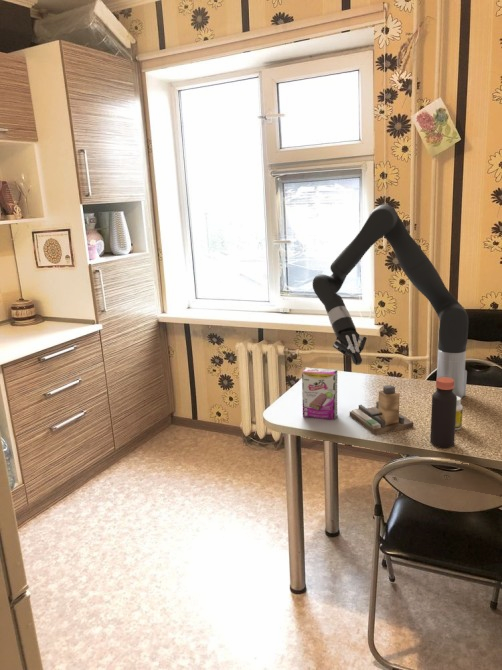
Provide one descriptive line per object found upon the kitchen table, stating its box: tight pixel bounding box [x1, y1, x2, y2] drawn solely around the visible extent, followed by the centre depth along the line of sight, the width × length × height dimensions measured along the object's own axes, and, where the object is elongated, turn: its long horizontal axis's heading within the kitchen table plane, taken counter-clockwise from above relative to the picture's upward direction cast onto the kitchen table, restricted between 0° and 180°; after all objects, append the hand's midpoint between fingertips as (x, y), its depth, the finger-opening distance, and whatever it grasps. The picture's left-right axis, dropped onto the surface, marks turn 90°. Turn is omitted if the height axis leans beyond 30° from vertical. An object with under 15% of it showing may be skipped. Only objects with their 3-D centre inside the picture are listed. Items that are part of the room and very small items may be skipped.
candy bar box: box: [301, 367, 338, 421], centre depth 185 cm, size 11×5×16 cm, turn 71°
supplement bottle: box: [455, 396, 464, 431], centre depth 174 cm, size 5×5×10 cm
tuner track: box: [349, 400, 414, 436], centre depth 181 cm, size 14×16×4 cm
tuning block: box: [370, 384, 401, 425], centre depth 175 cm, size 9×4×12 cm, turn 109°
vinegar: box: [429, 377, 457, 449], centre depth 162 cm, size 7×7×20 cm
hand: (358, 363), depth 190 cm, fingers closed
